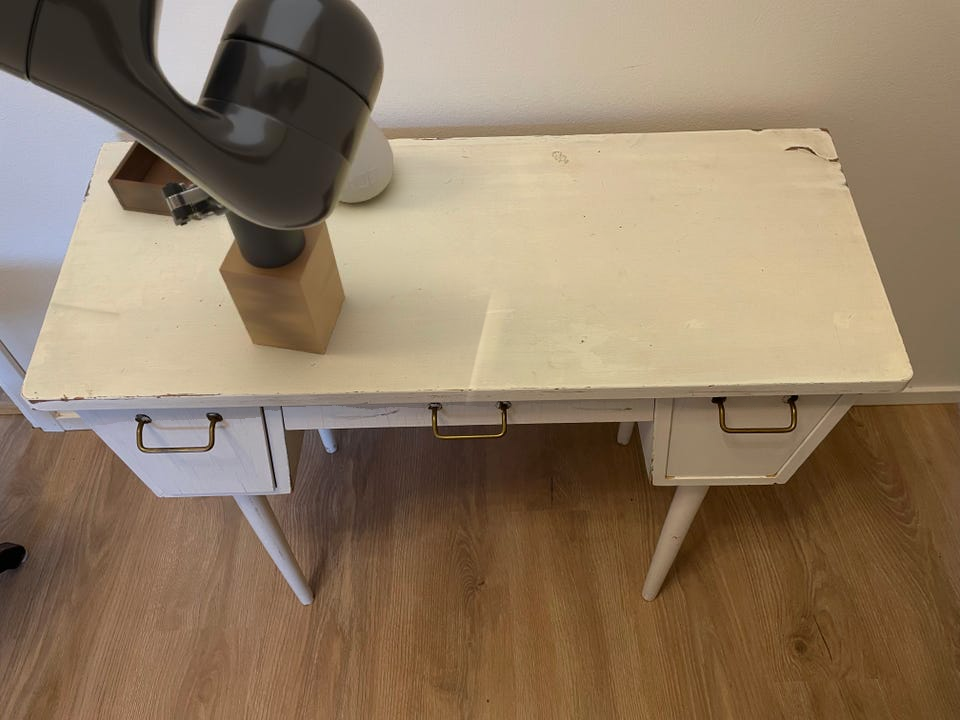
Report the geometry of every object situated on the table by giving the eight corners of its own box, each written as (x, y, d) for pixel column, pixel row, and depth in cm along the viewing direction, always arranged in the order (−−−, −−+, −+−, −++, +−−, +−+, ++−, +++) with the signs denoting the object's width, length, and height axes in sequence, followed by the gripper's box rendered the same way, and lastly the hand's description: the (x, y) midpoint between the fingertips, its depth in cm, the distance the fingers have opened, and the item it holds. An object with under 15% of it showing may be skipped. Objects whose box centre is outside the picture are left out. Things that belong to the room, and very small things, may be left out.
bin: (123, 209, 90) (106, 181, 86) (158, 155, 95) (144, 126, 91) (200, 220, 88) (187, 191, 85) (231, 164, 94) (221, 135, 90)
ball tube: (229, 264, 68) (194, 186, 60) (253, 216, 72) (223, 136, 64) (294, 273, 68) (267, 195, 60) (315, 225, 71) (293, 144, 63)
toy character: (318, 218, 88) (296, 139, 79) (311, 161, 94) (291, 80, 84) (402, 206, 90) (391, 125, 80) (390, 150, 95) (379, 69, 85)
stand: (252, 343, 78) (218, 269, 68) (277, 287, 82) (249, 210, 73) (323, 354, 77) (299, 281, 67) (345, 296, 82) (325, 220, 72)
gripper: (342, 70, 49) (312, 118, 64) (130, 139, 45) (152, 172, 60) (384, 178, 51) (346, 199, 66) (184, 253, 47) (192, 257, 62)
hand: (253, 186), depth 63 cm, fingers open, 8 cm apart
